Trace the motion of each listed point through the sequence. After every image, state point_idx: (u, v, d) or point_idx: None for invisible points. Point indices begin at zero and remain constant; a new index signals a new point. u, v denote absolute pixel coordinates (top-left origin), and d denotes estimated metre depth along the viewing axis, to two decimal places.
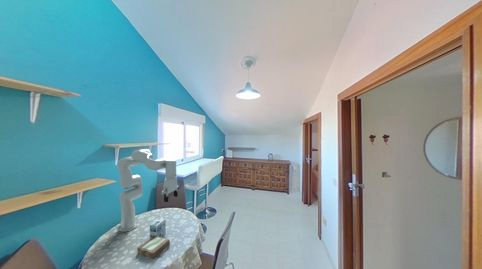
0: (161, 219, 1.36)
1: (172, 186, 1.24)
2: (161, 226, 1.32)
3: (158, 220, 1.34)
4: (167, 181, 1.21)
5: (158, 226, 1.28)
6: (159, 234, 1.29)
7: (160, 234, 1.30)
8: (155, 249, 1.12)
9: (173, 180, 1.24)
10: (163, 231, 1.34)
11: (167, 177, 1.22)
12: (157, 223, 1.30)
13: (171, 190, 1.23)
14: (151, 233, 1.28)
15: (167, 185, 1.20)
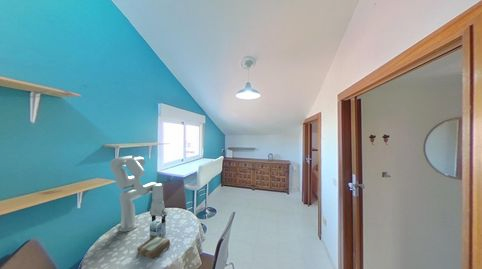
0: None
1: None
2: (161, 226, 1.32)
3: (158, 220, 1.34)
4: (163, 203, 1.31)
5: (158, 226, 1.28)
6: (159, 234, 1.29)
7: (160, 234, 1.30)
8: (155, 249, 1.12)
9: None
10: (163, 231, 1.34)
11: (161, 200, 1.30)
12: (157, 223, 1.30)
13: None
14: (151, 233, 1.28)
15: (164, 206, 1.31)
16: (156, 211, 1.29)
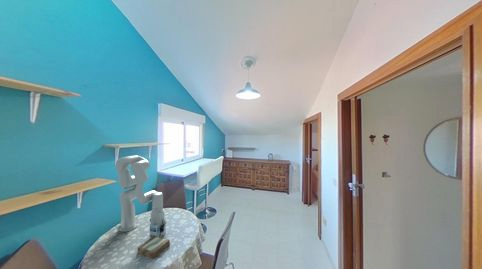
0: None
1: None
2: None
3: None
4: (163, 212, 1.31)
5: (158, 226, 1.28)
6: (159, 234, 1.29)
7: (160, 234, 1.30)
8: (155, 249, 1.12)
9: None
10: (163, 231, 1.34)
11: (161, 209, 1.31)
12: None
13: None
14: (151, 233, 1.28)
15: (163, 215, 1.32)
16: (155, 220, 1.29)
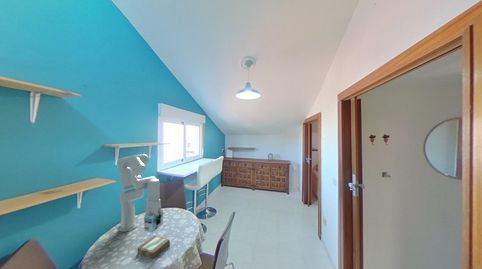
0: None
1: None
2: None
3: None
4: (159, 201, 1.15)
5: (154, 217, 1.12)
6: (155, 226, 1.13)
7: (156, 226, 1.14)
8: (155, 249, 1.12)
9: None
10: (160, 223, 1.18)
11: (158, 198, 1.15)
12: None
13: None
14: (146, 225, 1.12)
15: (160, 205, 1.16)
16: (151, 211, 1.13)
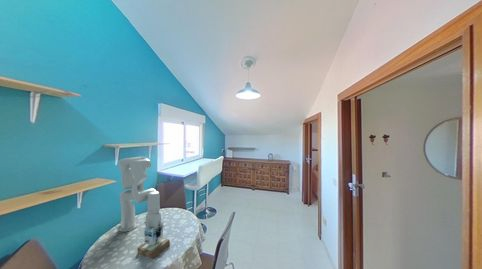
0: None
1: None
2: None
3: None
4: (159, 214, 1.15)
5: (154, 230, 1.12)
6: (155, 239, 1.13)
7: (156, 239, 1.15)
8: (155, 249, 1.12)
9: None
10: (160, 235, 1.18)
11: (158, 210, 1.15)
12: None
13: None
14: (146, 238, 1.12)
15: (160, 218, 1.16)
16: (151, 223, 1.13)
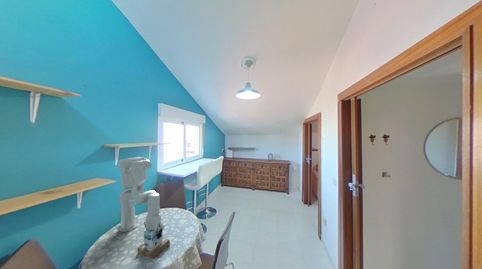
0: None
1: None
2: None
3: None
4: (159, 215, 1.16)
5: (153, 233, 1.13)
6: (155, 242, 1.14)
7: (156, 242, 1.15)
8: (155, 249, 1.12)
9: None
10: (160, 239, 1.18)
11: (158, 212, 1.15)
12: (152, 230, 1.14)
13: None
14: (146, 241, 1.12)
15: (160, 219, 1.16)
16: (151, 225, 1.14)
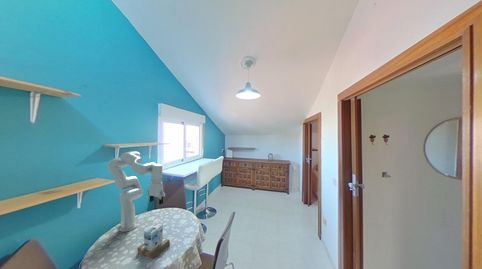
0: (157, 225, 1.20)
1: None
2: (157, 233, 1.16)
3: (154, 226, 1.18)
4: (161, 184, 1.28)
5: (153, 233, 1.13)
6: (155, 242, 1.14)
7: (156, 242, 1.15)
8: (155, 249, 1.12)
9: None
10: (160, 239, 1.18)
11: (160, 181, 1.28)
12: (152, 230, 1.14)
13: None
14: (146, 241, 1.12)
15: (162, 187, 1.29)
16: (154, 192, 1.27)
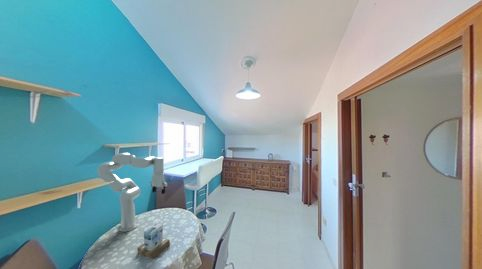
0: (157, 225, 1.20)
1: None
2: (157, 233, 1.16)
3: (154, 226, 1.18)
4: (163, 175, 1.39)
5: (153, 233, 1.13)
6: (155, 242, 1.14)
7: (156, 242, 1.15)
8: (155, 249, 1.12)
9: None
10: (160, 239, 1.18)
11: (162, 172, 1.38)
12: (152, 230, 1.14)
13: None
14: (146, 241, 1.12)
15: (164, 178, 1.39)
16: (156, 182, 1.37)
